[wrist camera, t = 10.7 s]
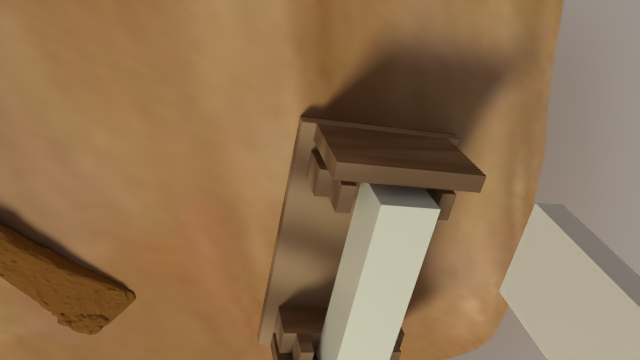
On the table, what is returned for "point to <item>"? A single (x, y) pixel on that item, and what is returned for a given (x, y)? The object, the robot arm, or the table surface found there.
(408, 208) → the strip
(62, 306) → the primitive tool
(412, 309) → the table surface
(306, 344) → the rack
